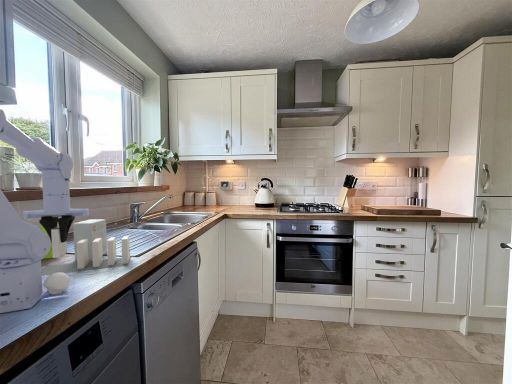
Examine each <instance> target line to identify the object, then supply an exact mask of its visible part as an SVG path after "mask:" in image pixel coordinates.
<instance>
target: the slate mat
mask: <svg viewBox="0 0 512 384" xmlns="http://www.w3.org/2000/svg"><path fill="white" fill-rule="evenodd" d="M116 258H117V260H116V262H115V264H114V265H108V258H106V259H103V262H102V263H101V265H100V266H99V267H93V260H88V264H87V265H86V266H85V268H82V269H77V262H69V263H62V264H52V265H51V264H50V265H45V266H44V267H42V268H41V269H42V277H43V276H50V275H51V274H54V273H58V272H62V273H65V274H69V273H76V272H77V273H78V272H85V271H94V270H95V271H96V270H101V269H103V270H104V269H108V268H109V269H111V268H119V267H126V266H128V265H129V264H130V260H131V258H132V256H130V260H129V262H128V263H125V264H122V257H116Z"/></svg>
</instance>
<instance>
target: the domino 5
mask: <svg viewBox="0 0 512 384" xmlns="http://www.w3.org/2000/svg"><path fill="white" fill-rule="evenodd" d="M130 250H131V249H130V235H124V236H123V237H122V238H121V258H122V264H125V263H128V262H129V263H130V261H129V260H131V259H130V257H131V253H130ZM129 263H128V264H129Z"/></svg>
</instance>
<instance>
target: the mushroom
mask: <svg viewBox="0 0 512 384" xmlns="http://www.w3.org/2000/svg"><path fill="white" fill-rule="evenodd" d="M70 282H71V278H70V276H69V275H68V273H62V272H58V273H54V274H51V275H47V277H46V278H45V279H44V281H43V282H42V286H44V288H48V292H47V293H49V294H50V295H54V296H55V295H59V294H62V293H63V292H64V290H66V289H67V288H68V287H69V285H70Z"/></svg>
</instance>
